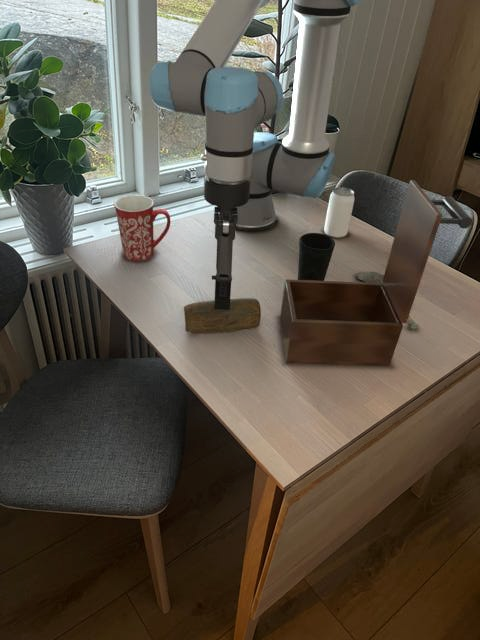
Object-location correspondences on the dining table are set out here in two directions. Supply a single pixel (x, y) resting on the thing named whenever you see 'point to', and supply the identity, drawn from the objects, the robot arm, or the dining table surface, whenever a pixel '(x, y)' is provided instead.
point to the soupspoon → (378, 278)
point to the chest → (338, 323)
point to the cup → (314, 256)
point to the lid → (416, 244)
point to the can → (339, 212)
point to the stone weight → (222, 316)
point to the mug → (138, 226)
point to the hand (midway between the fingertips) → (222, 287)
